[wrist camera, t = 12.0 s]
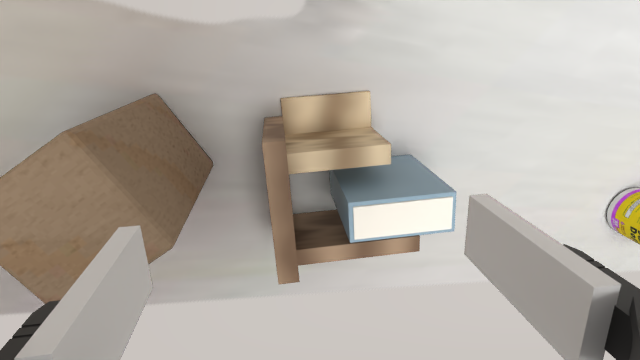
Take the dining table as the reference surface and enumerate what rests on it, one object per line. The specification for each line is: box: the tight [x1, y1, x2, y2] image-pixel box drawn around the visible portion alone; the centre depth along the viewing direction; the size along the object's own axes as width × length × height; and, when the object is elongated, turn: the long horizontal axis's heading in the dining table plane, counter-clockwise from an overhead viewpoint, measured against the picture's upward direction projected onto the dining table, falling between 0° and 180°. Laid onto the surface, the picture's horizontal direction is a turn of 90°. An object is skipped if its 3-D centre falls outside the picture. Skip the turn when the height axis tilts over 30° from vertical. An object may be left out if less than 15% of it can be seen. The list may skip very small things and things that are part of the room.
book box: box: [330, 155, 456, 243], centre depth 42 cm, size 10×4×13 cm, turn 94°
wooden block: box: [0, 94, 213, 304], centre depth 35 cm, size 10×10×20 cm
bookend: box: [281, 91, 391, 174], centre depth 41 cm, size 10×6×9 cm, turn 94°
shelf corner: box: [262, 116, 420, 284], centre depth 42 cm, size 15×14×12 cm
